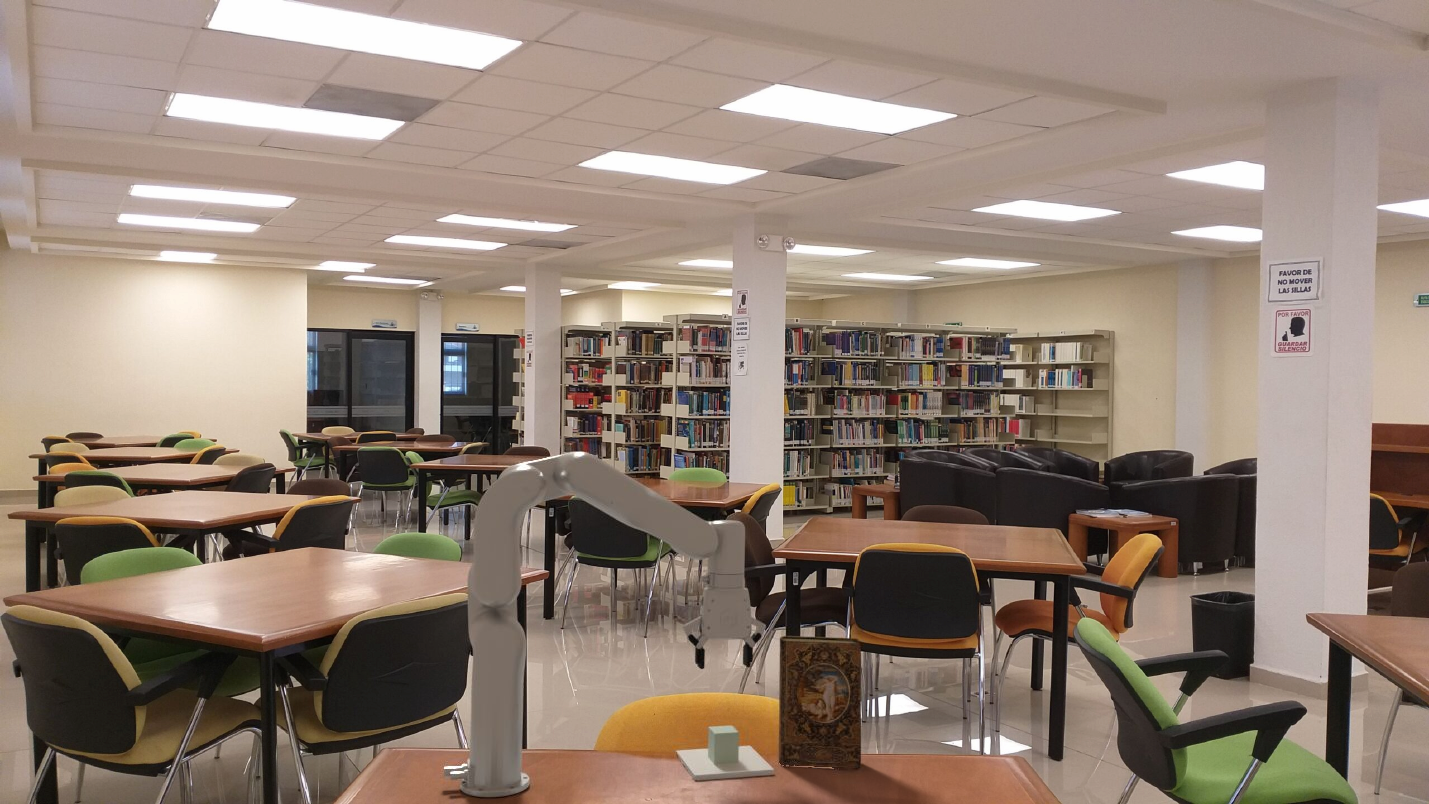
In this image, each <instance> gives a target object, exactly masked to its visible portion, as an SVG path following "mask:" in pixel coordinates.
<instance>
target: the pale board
mask: <svg viewBox="0 0 1429 804" xmlns="http://www.w3.org/2000/svg"><path fill="white" fill-rule="evenodd" d="M676 752H677V754H678V756H679V758H680V759H681V761H682V762H683V764H684V765H685V767H686V768H685V767H684V768H685V770H686V769H687V770H688V771H687V770H686V771H687V773H688V772H689V773H690V774H689V773H688V774H689V775H690V777H691V776H692V777H691V778H692V779H693V780H697V781H707V780H709V781H710V780H721V779H734V778H735V779H736V778H746V777H747V778H748V777H749V778H750V777H757V776H758V777H760V776H774V775H775V769H774V768H773V767H772V766H771V765H770V764H769V763H768V762H767V761H766V760H765V758H763V757H762V756H761V755H760V754H759V753H758V752H757V751H756V750H755V749H754V748H753V747H752V746H751V745H739V758H738V763H729V764H713V762H712V761H711V760H710V759H709V757H708V747H707V748H696V749H681V750H680V749H679V750H675V753H676ZM683 764H682V765H683Z"/></svg>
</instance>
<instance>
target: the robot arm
mask: <svg viewBox="0 0 1429 804" xmlns="http://www.w3.org/2000/svg"><path fill="white" fill-rule="evenodd" d="M570 495H571V496H572V495H574V496H576V497H577V498H579V499H580V500H582V501H584V502H586V503H588V504H589V505H591V506H593V507H594V508H596V509H599V510H600V511H601V512H603V513H604V514H607V515H609V516H610V517H612V518H613V519H615V520H617V521H619V522H621V523H623V524H624V525H626V526H628V527H631V528H633V529H635V530H639V531H642V532H644V533H647V534H649V535H650V536H653V537H655V538H657V539H659V540H661V541H662V542H664V543H666V544H668V545H669V546H670V548H671V549H672V550H673V551H674V552H675V553H677V554H679V555H680V556H683V557H688V558H690V559H693V560H697V561H698V560H699V561H702V560H706V559H707V572H706V574H705V575H700V583H701V584H703V583H704V584H705V585H706V587H704V588H703V592H702V595H701V601H700V610H699V616H698V617H696V618H694V619H693V620H691V621H689V622H686V623H685V624H683V625H682V630H683V632H684V634H685V636H686V639H688V641H689V642H691V645H693V646H694V648H695V649H694V651H695V653H694V662H695V665H697V667H698V668H699V669H700V670H704V669H705V664H706V661H705V660H706V657H705V655H706V650H705V648H704V645H706V643H707V642H708V640H711V641H720V640H721V641H722V640H723V641H726V640H727V641H728V640H743V643H744V644H743V646H742V665H743V666H745V667H746V668H751V663H753V661H754V658H753V657H754V655H753V654H754V647H756V644H757V643H758V642H759V641H760V640H761V639H762V636H763V634H764V632H765V630H766V628H767V625H766V624H765V623H763V622H762V621H760V620H758V619H756V618H754V617H752V610H751V609H752V607H751V600H750V593H749V589H748V588H747V587H745V560H746V559H745V555H746V554H745V553H746V552H745V551H746V550H745V549H746V527H745V525H744V523H743V522H742V521H739V520H731V519H729V520H728V519H725V520H724V519H720V520H719V519H718V520H717V519H716V520H712V521H710V520H705V519H704V518H703V519H702V518H701V517H699V516H698V515H696V514H694V513H692V512H691V511H689V510H687V509H686V508H684V507H682V506H681V505H679V504H677V503H675V502H674V501H672V500H669V499H668V498H666V497H665V496H663V495H661V494H659V493H658V492H657V491H655V490H653V489H651V488H650V487H648V486H646V485H644V484H642V483H641V482H639V481H637V480H636V479H634V478H633V477H631V476H629V475H627V474H626V473H624V472H622V471H620V470H619V469H617V468H616V467H613V466H612V465H610V464H608V463H607V462H606V461H603V460H602V459H600V458H599V457H597V456H596V455H593V454H592V453H588V452H586V451H570V452H567V453H562V454H559V455H555V456H550V457H546V458H542V459H541V458H540V459H536V460H532V461H526V462H522V463H517V464H513V465H510V466H509V467H507V468H505V469H504V470H502V472H501V473H500V475H499V476H498V479H496V480H495V481H494V482H493V483H492V484H490V486H489V487H488V488H487V489H486V491H485V493H484V494H483V495H482V497H481V499H480V500H479V503H478V504H477V508H476V511H475V515H474V523H473V524H474V525H473V563H472V564H471V566H470V568H469V570H468V575H467V619H468V624H467V625H468V637H469V642H470V645H471V647H472V668H471V669H472V671H471V672H472V673H471V689H470V690H471V691H470V729H469V730H470V732H469V733H470V734H469V736H470V737H469V758H467V763H462V764H461V765H459V766H454V765H449V766H448V765H447V766H444V768H443V769H444V770H443V777H444V778H450V781H455V780H457V781H458V780H460V784H459V786H460V787H459V788H460V790H461V792H463V793H464V794H465V795H469V796H473V797H479V798H498V797H499V798H500V797H507V796H510V795H514V794H515V795H516V794H519V793H521V792H523V791H524V790H526V789H527V788H528V787H529V786H530V781H531V780H530V779H531V778H530V776H529V775H528V774H527V773H525V772H522V765H523V764H522V763H523V761H522V759H523V725H524V724H523V720H524V719H523V717H524V683H525V681H524V678H525V668H526V658H527V657H526V656H527V639H526V633H525V630H524V628H523V627H522V625H521V623H520V622H519V621H518V604H517V603H518V599H517V598H518V596H519V595H520V592H521V589H522V581H523V580H522V573H521V572H522V570H521V552H520V550H521V549H520V545H521V544H520V539H521V538H520V537H521V524H522V520H523V518H524V517H525V515H526V513H527V512H528V511H529V510H531V509H533V508H534V507H536V506H537V505H539V504H540V503H542V502H547V501H550V500H551V501H552V500H554V499H559V498H563V497H567V496H570ZM752 625H753V626H755V627H756V629H755V632H754V633H753V634H752ZM696 627H698V632H699V635H698V636H697V637H695V636H694V633H693V629H695V628H696Z"/></svg>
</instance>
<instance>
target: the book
mask: <svg viewBox="0 0 1429 804" xmlns="http://www.w3.org/2000/svg"><path fill="white" fill-rule="evenodd" d="M778 674H779V676H778V677H779V681H778V682H779V685H778V686H779V690H778V692H779V693H778V697H779V699H778V703H779V704H778V705H779V706H778V707H779V708H778V764H779V763H780V764H781V765H784V766H786V765H789V766H794V765H795V766H814V767H832V768H834V769H833V770H839V769H847V771H849V770H850V771H851V770H854V771H855V770H859V769H860V767H861V762H862V647H861V645H860V640H859V638H857V637H832V636H830V637H828V636H800V635H799V636H798V635H794V636H793V635H785V636H780V637H779V673H778Z"/></svg>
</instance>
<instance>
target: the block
mask: <svg viewBox="0 0 1429 804" xmlns="http://www.w3.org/2000/svg"><path fill="white" fill-rule="evenodd" d="M707 732H708V735H707V737H708V738H707V739H708V740H707V748H708V757H709V759H710V760H711V761H712V762H713V764H729V763H738V758H739V746H740V745H739V744H740V743H739V741H740V739H739V738H740V736H739V735H740V733H739V731H738V730H737V728H736V727H734V726H733V725H719V726H715V725H714V726H708V731H707Z"/></svg>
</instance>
